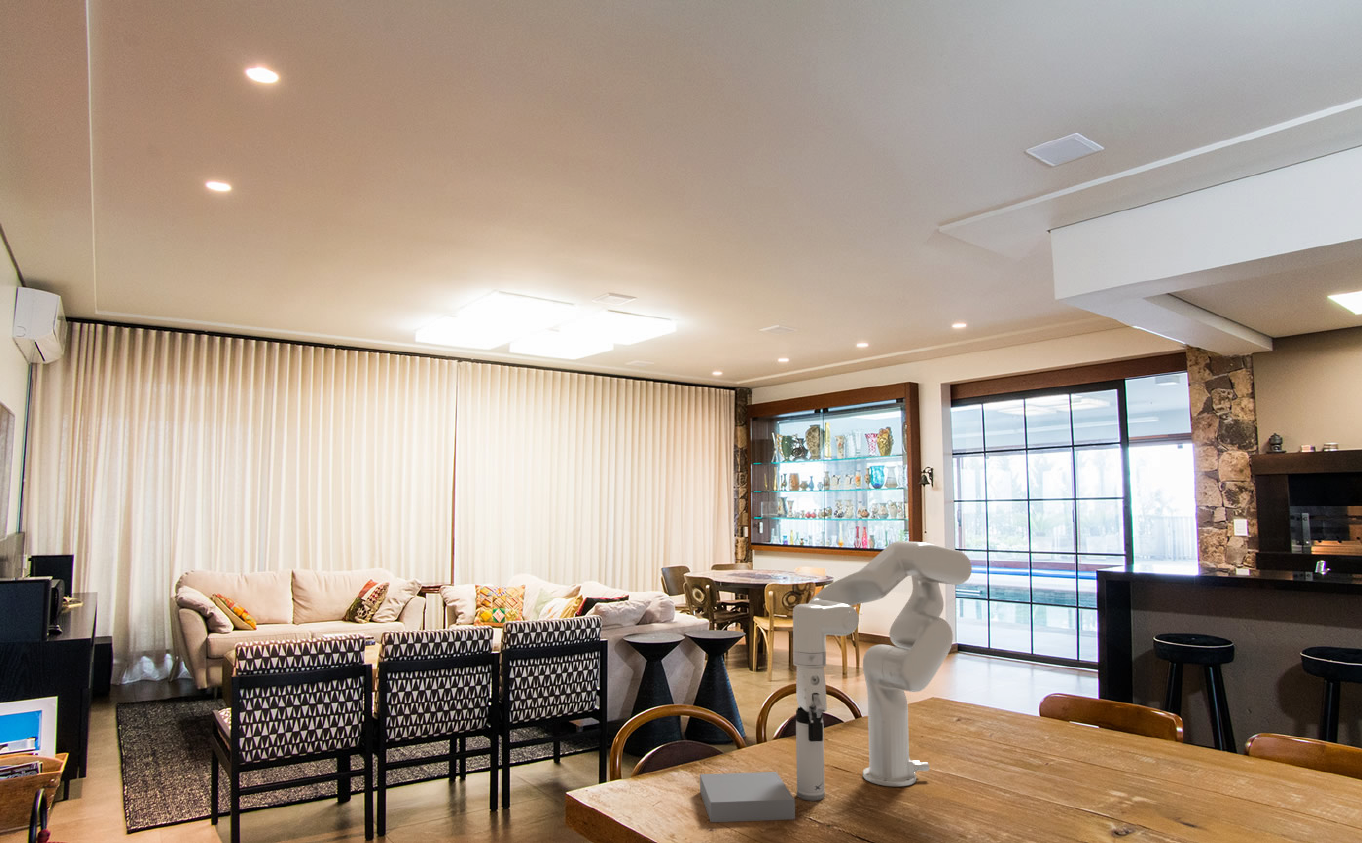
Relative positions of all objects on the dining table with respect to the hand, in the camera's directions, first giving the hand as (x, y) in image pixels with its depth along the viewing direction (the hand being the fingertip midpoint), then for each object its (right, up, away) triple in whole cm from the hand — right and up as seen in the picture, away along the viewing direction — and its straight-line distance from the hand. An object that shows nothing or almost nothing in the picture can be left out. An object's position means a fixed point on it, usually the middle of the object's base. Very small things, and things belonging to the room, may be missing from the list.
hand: (810, 734), depth 186 cm
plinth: (-15, -13, -7) cm, 21 cm away
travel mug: (0, -14, -1) cm, 14 cm away
